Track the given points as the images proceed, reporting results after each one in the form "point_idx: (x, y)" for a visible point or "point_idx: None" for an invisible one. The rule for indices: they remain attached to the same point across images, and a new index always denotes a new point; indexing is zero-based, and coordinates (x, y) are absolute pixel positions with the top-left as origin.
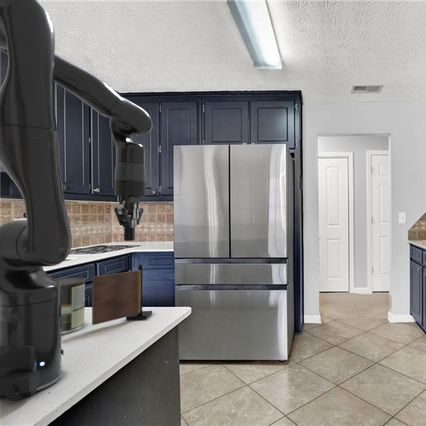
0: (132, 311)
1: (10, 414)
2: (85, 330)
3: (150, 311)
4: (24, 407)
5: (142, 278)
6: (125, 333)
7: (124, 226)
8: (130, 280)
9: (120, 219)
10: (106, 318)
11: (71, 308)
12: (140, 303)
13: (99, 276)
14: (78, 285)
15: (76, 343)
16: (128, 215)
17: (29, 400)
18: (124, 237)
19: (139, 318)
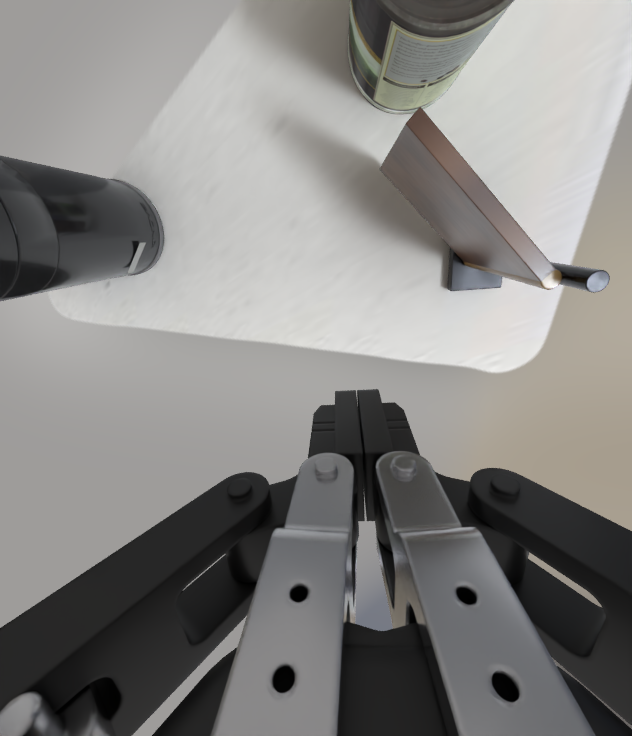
0: (457, 251)
1: None
2: (383, 143)
3: (493, 285)
4: None
5: None
6: (348, 280)
7: (286, 485)
8: (499, 253)
9: (168, 555)
10: (406, 195)
11: (380, 69)
12: None
13: (425, 145)
14: (421, 35)
15: (292, 185)
16: (170, 690)
17: None
18: (336, 401)
19: (449, 270)
